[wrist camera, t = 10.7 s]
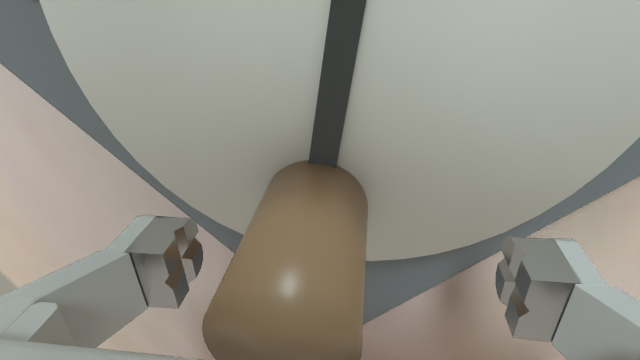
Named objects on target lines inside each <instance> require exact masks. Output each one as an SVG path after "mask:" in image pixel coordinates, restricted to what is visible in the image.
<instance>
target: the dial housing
mask: <svg viewBox="0 0 640 360" xmlns="http://www.w3.org/2000/svg"><path fill="white" fill-rule="evenodd" d="M0 63H1V64H2V65H3V66H4V67H6V68H7V69H8V70H9V71H11V72H12V73H13V74H14V75H16V76H17V77H18V78H19V79H20V80H22V81H23V82H24V83H25V84H27V85H28V86H29V87H30V88H32V89H33V90H34V91H35V92H36V93H38V94H39V95H40V96H41V97H43V98H44V99H45V100H46V101H48V102H49V103H50V104H51V105H52V106H54V107H55V108H56V109H57V110H59V111H60V112H61V113H62V114H64V115H65V116H66V117H67V118H69V119H70V120H71V121H72V122H73V123H75V124H76V125H77V126H78V127H80V128H81V129H82V130H83V131H85V132H86V133H87V134H88V135H89V136H91V137H92V138H93V139H94V140H96V141H97V142H98V143H99V144H101V145H102V146H103V147H104V148H105V149H107V150H108V151H109V152H110V153H112V154H113V155H114V156H115V157H117V158H118V159H119V160H120V161H121V162H123V163H124V164H125V165H126V166H128V167H129V168H130V169H131V170H133V171H134V172H135V173H136V174H138V175H139V176H140V177H141V178H142V179H144V180H145V181H146V182H147V183H149V184H150V185H151V186H152V187H154V188H155V189H156V190H157V191H158V192H160V193H161V194H162V195H163V196H165V197H166V198H167V199H168V200H170V201H171V202H172V203H173V204H174V205H176V206H177V207H178V208H179V209H181V210H182V211H183V212H184V213H186V214H187V215H188V216H189V217H190V218H192V219H193V220H194V221H196V222H197V223H198V224H199V225H200V226H202V227H203V228H204V229H205V230H207V231H208V232H209V233H210V234H211V235H213V236H214V237H215V238H216V239H218V240H219V241H220V242H221V243H223V244H224V245H225V246H226V247H227V248H229V249H230V250H231V251H232V252H234V253H235V252H236V250H237V248H238V246H239V244H240V242H241V240H242V238H243V236H244V235H243V234H241V233H239V232H237V231H234V230H232V229H230V228H228V227H226V226H224V225H222V224H220V223H218V222H216V221H215V220H213V219H211V218H210V217H208V216H206V215H205V214H203V213H201V212H200V211H198V210H196V209H195V208H193V207H191V206H190V205H189V204H187V203H186V202H185V201H183V200H182V199H181V198H179V197H178V196H177V195H175V194H174V193H173V192H171V191H170V190H169V189H167V188H166V187H165V186H163V185H162V184H161V183H160V182H159V181H158V180H157V179H156V178H155V177H153V176H152V175H151V174H150V173H149V172H148V171H147V170H146V169H145V168H144V167H142V166H141V165H140V164H139V163H138V162H137V161H136V160H135V159H134V157H133V156H132V155H131V154H130V153H129V152H128V151H127V150H126V149H125V148H124V146H123V145H122V144H121V143H120V142H119V141H118V140H117V139H116V138H115V137H114V135H113V134H112V133H111V131H110V130H109V129H108V127H107V126H106V125H105V123H104V122H103V121H102V119H101V118H100V117H99V115H98V114H97V113H96V111H95V110H94V109H93V107H92V106H91V104H90V103H89V101H88V100H87V98H86V96H85V95H84V93H83V91H82V90H81V88H80V86H79V85H78V83H77V82H76V80H75V78H74V77H73V75H72V73H71V72H70V70H69V68H68V66H67V64H66V62H65V60H64V58H63V55H62V53H61V51H60V49H59V47H58V45H57V43H56V41H55V39H54V37H53V35H52V33H51V31H50V28H49V25H48V23H47V20H46V17H45V15H44V12H43V9H42V6H41V4H40V1H39V0H0ZM638 176H640V137H639V138H638V139H637V140H636V141H635V142H634V143H633V144H632V145H631V146H630V147H629V148H628V149H627V150H625V151H624V152H623V153H622V154H621V155H620V156H619V157H618V158H617V159H616V160H615V161H614V162H613V163H612V164H611V165H610V166H608V167H607V168H606V169H605V170H604V171H602V172H601V173H600V174H598V175H597V176H596V177H594V178H593V179H592V180H591V181H589V182H588V183H587V184H585V185H584V186H583V187H581V188H580V189H579V190H578V191H576V192H575V193H574V194H572V195H571V196H569V197H567V198H566V199H564V200H563V201H561V202H559V203H558V204H556V205H555V206H553V207H551V208H550V209H548V210H546V211H545V212H543V213H542V214H540V215H538V216H536V217H534V218H532V219H530V220H528V221H526V222H524V223H522V224H520V225H518V226H516V227H514V228H512V229H510V230H508V231H506V232H504V233H501V234H498V235H496V236H493V237H490V238H488V239H485V240H482V241H480V242H477V243H474V244H472V245H469V246H465V247H461V248H457V249H453V250H450V251H446V252H442V253H438V254H433V255H427V256H420V257H414V258H408V259H398V260H381V261H366V263H365V285H364V306H363V324H364V323H366V322H368V321H370V320H372V319H374V318H376V317H378V316H379V315H381V314H383V313H385V312H387V311H389V310H391V309H392V308H394V307H396V306H398V305H400V304H402V303H404V302H405V301H407V300H409V299H411V298H413V297H415V296H417V295H419V294H420V293H422V292H424V291H426V290H428V289H430V288H432V287H433V286H435V285H437V284H439V283H441V282H443V281H445V280H446V279H448V278H450V277H452V276H454V275H456V274H458V273H460V272H461V271H463V270H465V269H467V268H469V267H471V266H473V265H474V264H476V263H478V262H480V261H482V260H484V259H486V258H487V257H489V256H491V255H493V254H495V253H497V252H499V251H501V250H502V247H503V243H504V241H505V239H506V237H521V238H525V237H527V236H528V235H530V234H532V233H534V232H536V231H538V230H540V229H542V228H543V227H545V226H547V225H549V224H551V223H553V222H555V221H556V220H558V219H560V218H562V217H564V216H566V215H568V214H569V213H571V212H573V211H575V210H577V209H579V208H581V207H582V206H584V205H586V204H588V203H590V202H592V201H594V200H596V199H597V198H599V197H601V196H603V195H605V194H607V193H609V192H610V191H612V190H614V189H616V188H618V187H620V186H622V185H623V184H625V183H627V182H629V181H631V180H633V179H635V178H637V177H638Z"/></svg>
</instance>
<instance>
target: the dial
mask: <svg viewBox="0 0 640 360" xmlns="http://www.w3.org/2000/svg"><path fill="white" fill-rule="evenodd" d="M39 1H40V4H41V6H42V9H43V12H44V15H45V17H46V20H47V23H48V25H49V28H50V31H51V33H52V35H53V37H54V39H55V41H56V43H57V45H58V47H59V49H60V51H61V53H62V55H63V58H64V60H65V62H66V64H67V66H68V68H69V70H70V72H71V73H72V75H73V77H74V78H75V80H76V82H77V83H78V85H79V86H80V88H81V90H82V91H83V93H84V95H85V96H86V98H87V100H88V101H89V103H90V104H91V106H92V107H93V109H94V110H95V111H96V113H97V114H98V115H99V117H100V118H101V119H102V121H103V122H104V123H105V125H106V126H107V127H108V129H109V130H110V131H111V133H112V134H113V135H114V137H115V138H116V139H117V140H118V141H119V142H120V143H121V144H122V145H123V146H124V148H125V149H126V150H127V151H128V152H129V153H130V154H131V155H132V156H133V157H134V159H135V160H136V161H137V162H138V163H139V164H140V165H141V166H142V167H144V168H145V169H146V170H147V171H148V172H149V173H150V174H151V175H152V176H153V177H155V178H156V179H157V180H158V181H159V182H160V183H161V184H162V185H163V186H165V187H166V188H167V189H169V190H170V191H171V192H173V193H174V194H175V195H177V196H178V197H179V198H181V199H182V200H183V201H185V202H186V203H187V204H189V205H190V206H191V207H193V208H195V209H196V210H198V211H200V212H201V213H203V214H205V215H206V216H208V217H210V218H211V219H213V220H215V221H216V222H218V223H220V224H222V225H224V226H226V227H228V228H230V229H232V230H234V231H237V232H239V233H241V234H243V235H244V236H243V238H242V240H241V242H240V244H239V246H238V248H237V250H236V252H235V254H234V256H233V258H232V260H231V262H230V264H229V267H228V269H227V271H226V273H225V275H224V277H223V279H222V281H221V283H220V285H219V287H218V289H217V291H216V293H215V295H214V297H213V299H212V301H211V303H210V305H209V307H208V310H207V312H206V314H205V316H204V320H203V327H202V329H203V336H204V340H205V343H206V345H207V347H208V349H209V350H210V352H211V353H212V355H213V356H214V357H215V359H216V360H360V358H361V350H362V328H363V306H364V285H365V263H366V261H381V260H398V259H408V258H414V257H420V256H427V255H433V254H438V253H442V252H446V251H450V250H453V249H457V248H461V247H465V246H469V245H472V244H474V243H477V242H480V241H482V240H485V239H488V238H490V237H493V236H496V235H498V234H501V233H504V232H506V231H508V230H510V229H512V228H514V227H516V226H518V225H520V224H522V223H524V222H526V221H528V220H530V219H532V218H534V217H536V216H538V215H540V214H542V213H543V212H545V211H546V210H548V209H550V208H551V207H553V206H555V205H556V204H558V203H559V202H561V201H563V200H564V199H566V198H567V197H569V196H571V195H572V194H574V193H575V192H576V191H578V190H579V189H580V188H581V187H583V186H584V185H585V184H587V183H588V182H589V181H591V180H592V179H593V178H594V177H596V176H597V175H598V174H600V173H601V172H602V171H604V170H605V169H606V168H607V167H608V166H610V165H611V164H612V163H613V162H614V161H615V160H616V159H617V158H618V157H619V156H620V155H621V154H622V153H623V152H624V151H625V150H627V149H628V148H629V147H630V146H631V145H632V144H633V143H634V142H635V141H636V140H637V139H638V138H639V137H640V0H39Z"/></svg>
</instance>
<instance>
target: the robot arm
mask: <svg viewBox="0 0 640 360" xmlns="http://www.w3.org/2000/svg"><path fill="white" fill-rule="evenodd" d="M197 233H198V228H197V225H196V221H194V220H193V219H189V218H176V217H164V216H148V215H141V216H138V217H136V218H135V219H134V220H133V222H132V223H131V224H130V225H129V226H128V227H127V228H126V229H125V230H124V231H123V232H122V233H121V234H120V235H119V236H118V237H117V238H116V240H115V241H114V242H113V243H112V244H111V245H110V246H109V247H108V248H107V249H106V250H105V251H98V252H96V253H93V254H91V255H89V256H87V257H85V258H83V259H80V260H78V261H76V262H74V263H72V264H70V265H68V266H65V267H63V268H61V269H59V270H57V271H55V272H52V273H50V274H48V275H46V276H44V277H42V278H39V279H37V280H35V281H33V282H31V283H29V284H26V285H24V286H22V287H20V288H18V289H16V290H13V291H11V292H9V293H7V294H5V295H3V296H1V297H0V360H204V359H194V358H184V357H175V356H165V355H156V354H146V353H136V352H127V351H117V350H108V349H98V348H96V347H98V346H99V345H100V344H102V343H103V342H104V341H105V340H107V339H108V338H109V337H111V336H112V335H113V334H115V333H116V332H117V331H119V330H120V329H121V328H123V327H124V326H125V325H127V324H128V323H129V322H130V321H132V320H133V319H134V318H136V317H137V316H138V315H140V314H141V313H142V312H144V311H145V310H146V309H148V307H161V308H179V307H180V305H181V303H182V301H183V300H184V298H185V296H186V294H187V293H188V291H189V287H188V282H190V281H192V280H193V279H195V278H196V277H197V275H198V273H199V271H200V269H201V265H202V261H203V250H202V246H201V244H200V243H199V242H198V241H197V240H196V238H195V236H196V234H197ZM502 252H503V254H504V257H505V258H504V259H503V260H502V261H501V262H499V263H498V266H497V271H496V289H497V294H498V297H499V300H500V301H501V302H502V303H503V304H504V305H505V306H507V309H506V313H505V317H506V320H507V323H508V325H509V328H510V331H511V334H512V336H513V338H519V339H528V340H537V341H546V342H552V345H553V346H554V347H555V348H556V349H557V350H558V351H559V352H560V353H561V354H562V355H563V356H564V357H565V358H566V359H567V360H640V301H639V300H637V299H635V298H634V297H632V296H630V295H629V294H627V293H625V292H624V291H622V290H620V289H619V288H617V287H611V286H608V285H607V283H606V282H605V280H604V279H603V278H602V276H601V275H600V273H599V272H598V271H597V269H596V268H595V266H594V265H593V263H592V262H591V261H590V259H589V258H588V256H587V255H586V254H585V252H584V251H583V249H582V248H581V246H580V245H579V244H578V242H577V241H575V240H573V239H557V238H550V239H541V238H521V237H506V239H505V241H504V243H503V247H502Z"/></svg>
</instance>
